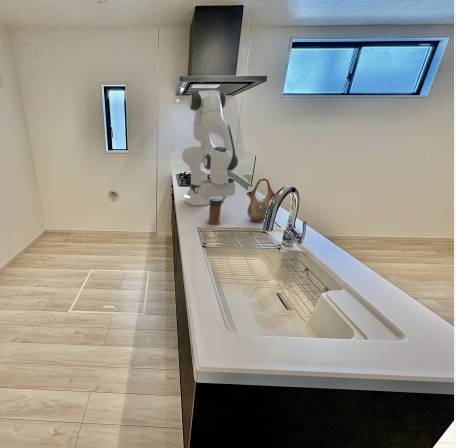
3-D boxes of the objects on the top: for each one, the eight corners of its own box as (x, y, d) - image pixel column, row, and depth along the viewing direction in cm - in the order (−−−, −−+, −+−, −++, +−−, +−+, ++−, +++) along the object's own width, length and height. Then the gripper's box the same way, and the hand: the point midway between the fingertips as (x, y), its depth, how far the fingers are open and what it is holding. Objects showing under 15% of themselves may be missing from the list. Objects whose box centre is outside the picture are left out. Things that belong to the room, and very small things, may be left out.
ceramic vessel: (268, 218, 143) (275, 176, 134) (274, 223, 135) (282, 180, 126) (240, 217, 144) (246, 176, 135) (244, 223, 136) (251, 179, 126)
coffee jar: (208, 220, 141) (210, 198, 136) (219, 221, 139) (221, 199, 134) (207, 224, 135) (209, 201, 130) (219, 225, 134) (221, 202, 128)
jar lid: (223, 204, 133) (224, 199, 132) (217, 206, 129) (217, 202, 128) (213, 201, 137) (214, 197, 136) (207, 204, 133) (207, 199, 132)
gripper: (202, 181, 123) (200, 206, 128) (238, 179, 127) (234, 204, 132) (197, 178, 128) (195, 203, 134) (231, 177, 133) (229, 201, 138)
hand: (215, 203), depth 133 cm, fingers closed on jar lid, 6 cm apart
